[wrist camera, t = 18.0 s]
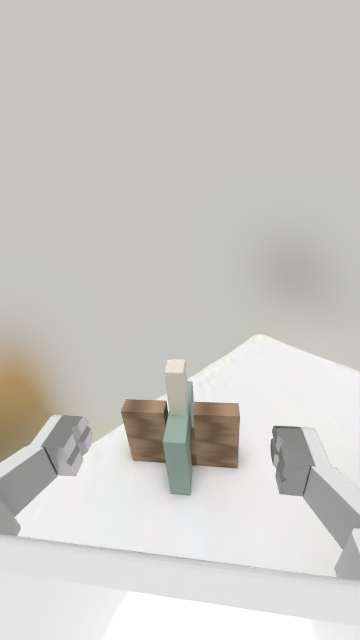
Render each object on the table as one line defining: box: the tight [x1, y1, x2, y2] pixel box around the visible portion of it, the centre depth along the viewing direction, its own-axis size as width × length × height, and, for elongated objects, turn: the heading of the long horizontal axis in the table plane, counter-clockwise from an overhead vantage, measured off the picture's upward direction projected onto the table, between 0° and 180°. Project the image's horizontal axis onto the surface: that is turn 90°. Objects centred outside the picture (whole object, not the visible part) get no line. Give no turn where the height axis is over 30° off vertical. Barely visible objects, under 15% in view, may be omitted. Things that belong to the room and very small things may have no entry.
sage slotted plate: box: [163, 359, 194, 495], centre depth 39 cm, size 3×12×20 cm, turn 173°
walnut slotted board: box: [121, 399, 240, 468], centre depth 41 cm, size 18×2×12 cm, turn 83°
